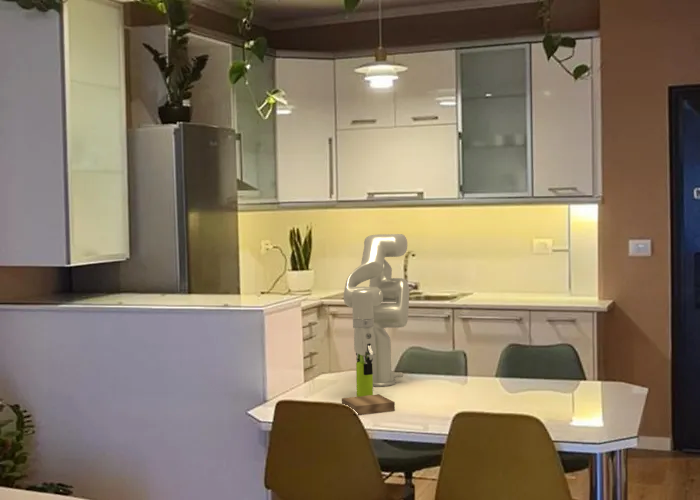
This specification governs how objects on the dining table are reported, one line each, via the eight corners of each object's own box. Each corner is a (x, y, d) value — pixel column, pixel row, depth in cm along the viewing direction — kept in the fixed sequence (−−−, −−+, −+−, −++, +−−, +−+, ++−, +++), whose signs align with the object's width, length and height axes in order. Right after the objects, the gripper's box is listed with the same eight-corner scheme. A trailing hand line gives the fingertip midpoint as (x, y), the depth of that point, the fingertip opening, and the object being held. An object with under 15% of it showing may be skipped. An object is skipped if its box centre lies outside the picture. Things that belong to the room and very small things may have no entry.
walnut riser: (379, 402, 318) (378, 394, 317) (394, 410, 305) (394, 402, 304) (341, 406, 313) (341, 398, 313) (356, 415, 300) (356, 406, 299)
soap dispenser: (362, 401, 320) (362, 346, 318) (353, 397, 326) (353, 343, 324) (377, 399, 323) (376, 344, 321) (368, 395, 329) (367, 341, 327)
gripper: (382, 325, 316) (383, 376, 317) (364, 320, 332) (365, 368, 333) (362, 327, 314) (363, 378, 315) (345, 321, 330) (346, 370, 331)
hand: (364, 372), depth 324 cm, fingers closed on soap dispenser, 6 cm apart
